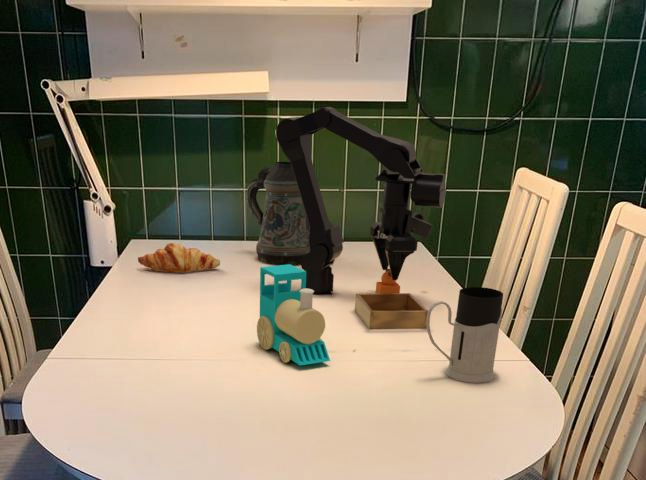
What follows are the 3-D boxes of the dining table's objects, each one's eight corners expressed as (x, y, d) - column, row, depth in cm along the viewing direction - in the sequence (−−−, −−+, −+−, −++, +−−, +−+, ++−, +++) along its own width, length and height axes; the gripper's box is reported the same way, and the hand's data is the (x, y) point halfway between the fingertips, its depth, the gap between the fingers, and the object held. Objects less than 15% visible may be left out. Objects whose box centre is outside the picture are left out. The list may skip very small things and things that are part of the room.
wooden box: (368, 331, 170) (370, 312, 168) (354, 312, 183) (355, 293, 181) (426, 331, 172) (428, 311, 170) (408, 311, 184) (410, 293, 183)
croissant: (219, 279, 219) (219, 249, 219) (221, 269, 209) (221, 238, 209) (138, 278, 216) (138, 248, 216) (137, 268, 206) (136, 236, 206)
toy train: (295, 371, 148) (298, 288, 141) (255, 344, 161) (256, 267, 154) (333, 365, 152) (338, 284, 145) (291, 339, 164) (293, 263, 157)
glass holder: (503, 380, 147) (516, 297, 140) (431, 386, 143) (441, 302, 136) (479, 364, 154) (491, 284, 147) (410, 370, 150) (418, 288, 143)
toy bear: (379, 305, 188) (381, 272, 185) (374, 300, 192) (377, 267, 188) (398, 305, 189) (401, 272, 185) (393, 300, 193) (396, 267, 189)
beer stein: (316, 267, 220) (320, 167, 208) (243, 264, 220) (244, 165, 208) (314, 253, 235) (318, 160, 223) (246, 251, 235) (247, 158, 223)
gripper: (444, 211, 173) (435, 284, 180) (419, 196, 189) (412, 265, 197) (392, 211, 171) (386, 285, 179) (372, 196, 188) (367, 265, 195)
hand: (389, 274), depth 187 cm, fingers open, 9 cm apart
